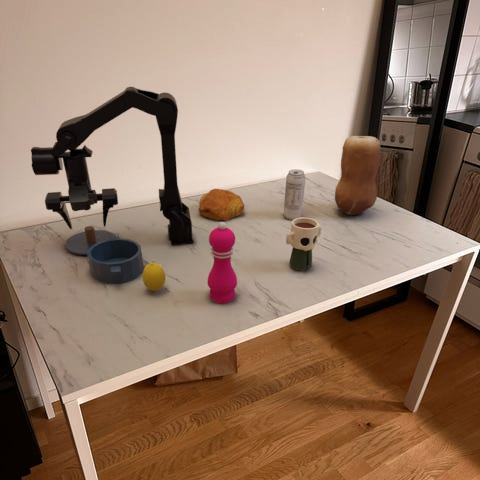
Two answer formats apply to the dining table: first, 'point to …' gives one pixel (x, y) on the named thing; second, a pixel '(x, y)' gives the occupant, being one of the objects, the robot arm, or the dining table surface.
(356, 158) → the butternut squash
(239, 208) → the croissant
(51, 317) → the dining table surface
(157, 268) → the lemon
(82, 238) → the pot lid
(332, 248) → the dining table surface
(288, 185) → the energy drink can
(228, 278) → the pepper mill
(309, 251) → the character mug
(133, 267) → the pot
